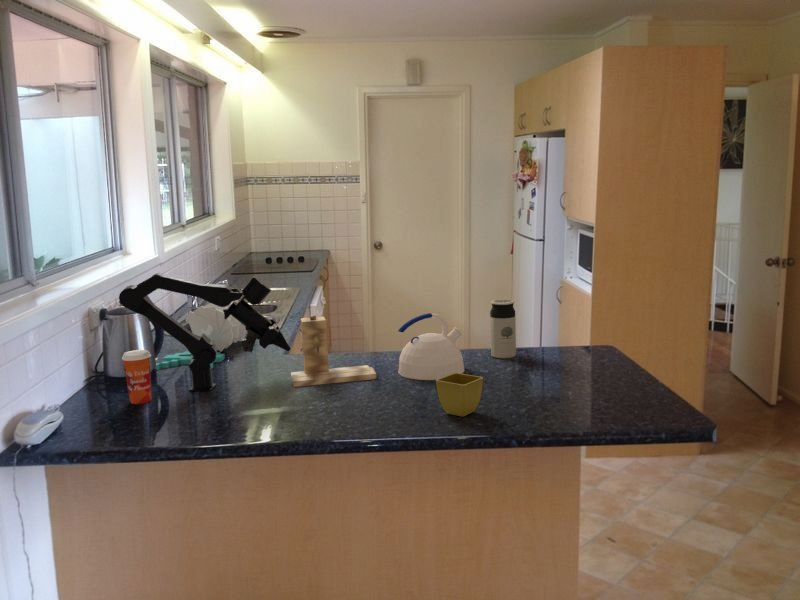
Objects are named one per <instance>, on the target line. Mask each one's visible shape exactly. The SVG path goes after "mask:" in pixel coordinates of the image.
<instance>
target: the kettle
mask: <svg viewBox="0 0 800 600" xmlns="http://www.w3.org/2000/svg"><path fill="white" fill-rule="evenodd" d="M431 318H433V319H436V320H438V321H439V322H440V325H441V327H442V328H441V330H442V331H441V333H437V332H436V333H435V332H428V333H427V332H425V333H422V334H420V335H416V336H414V337H412V338H411V340H410V341H409V342H407V343H406V345H405V346H404V347H403V349H402V350H401V353H400V355H399V357H398V358H399V360H398V372H397V373H398V374H399V375H400V376H402V377H403V378H406V379H411V380H418V381H436V380H437V379H440V378H442V377H445V376H447V375H450V374H453V373H461V374H464V372H465V366H464V358H463V354H462V352H461V349H460V348H459V347H458V345H457V344H456V342H458V339H460V337H461V336H462V334H463V332H462V331H460V330H459V329H458V328H457V327H453V328H452V330H451V331H450V332H449V326H448V323H447V321H446V320H445V319H444V317H443V316H441V315H440V314H438V313H429V312H428V313H425V314H422V315H419V316H418V315H417V316H416V317H413V318H411V319H410V320H408V321H407V322H405V323H404V324H403V325H402V326H400V328H399V329H398V330H397V332H400V333H404V332H405V331H406V330H408V328H410V327H411V326H412V325H414V324H416V323H417V322H420V321H422V320H426V319H431Z"/></svg>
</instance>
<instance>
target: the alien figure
mask: <svg viewBox="0 0 800 600" xmlns="http://www.w3.org/2000/svg"><path fill="white" fill-rule="evenodd" d="M192 357H193V356H192V355H191V353H190V352H189V351H188V350H187V351H186V350H185V351H184V352H176V353H175V354H166V355H165V356H164V357H162V362H158V363H157V362H155V363H156V369H157V370H156V371H159V370H161V369H169V368H170V367H178V366H180V365H183V366H184V365H189V364H190V361H191V358H192ZM225 358H226V356H225V353H221V352H220V351H217V354H216V359H215V360H214V362H213V363H211V364H210V366H211V370H213V368H214V363H222V362H223V361H224V360H225Z"/></svg>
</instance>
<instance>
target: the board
mask: <svg viewBox="0 0 800 600" xmlns="http://www.w3.org/2000/svg"><path fill="white" fill-rule="evenodd" d="M290 375H291V379H292V385H293V387H294V388H295V387H297V388H298V387H306V386H317V385H327V384H335V383H336V384H337V383H347V382H357V381H368V380H376V379H377V372H376V371H375V369H374V368H373V367H371V366H369V365H368V364H367V365H366V364H365V365H356V366H345V367H335V368H334V367H333V368H329V371H327V372H316V373H306V374H304V370H301V371H291V372H290Z"/></svg>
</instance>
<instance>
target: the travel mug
mask: <svg viewBox="0 0 800 600" xmlns="http://www.w3.org/2000/svg"><path fill="white" fill-rule="evenodd" d="M514 303H515V300H513V299H501V298H500V299H493V300H491V301H490V304H491V306H492V307H491V310H490V311H489V315H490V352H491V354H490V355H491V357H493V358H495V359H512V358H514V357H516V356H517V339H516V338H517V335H516V331H517V329H516V328H517V327H516V310H515V308H514Z"/></svg>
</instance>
